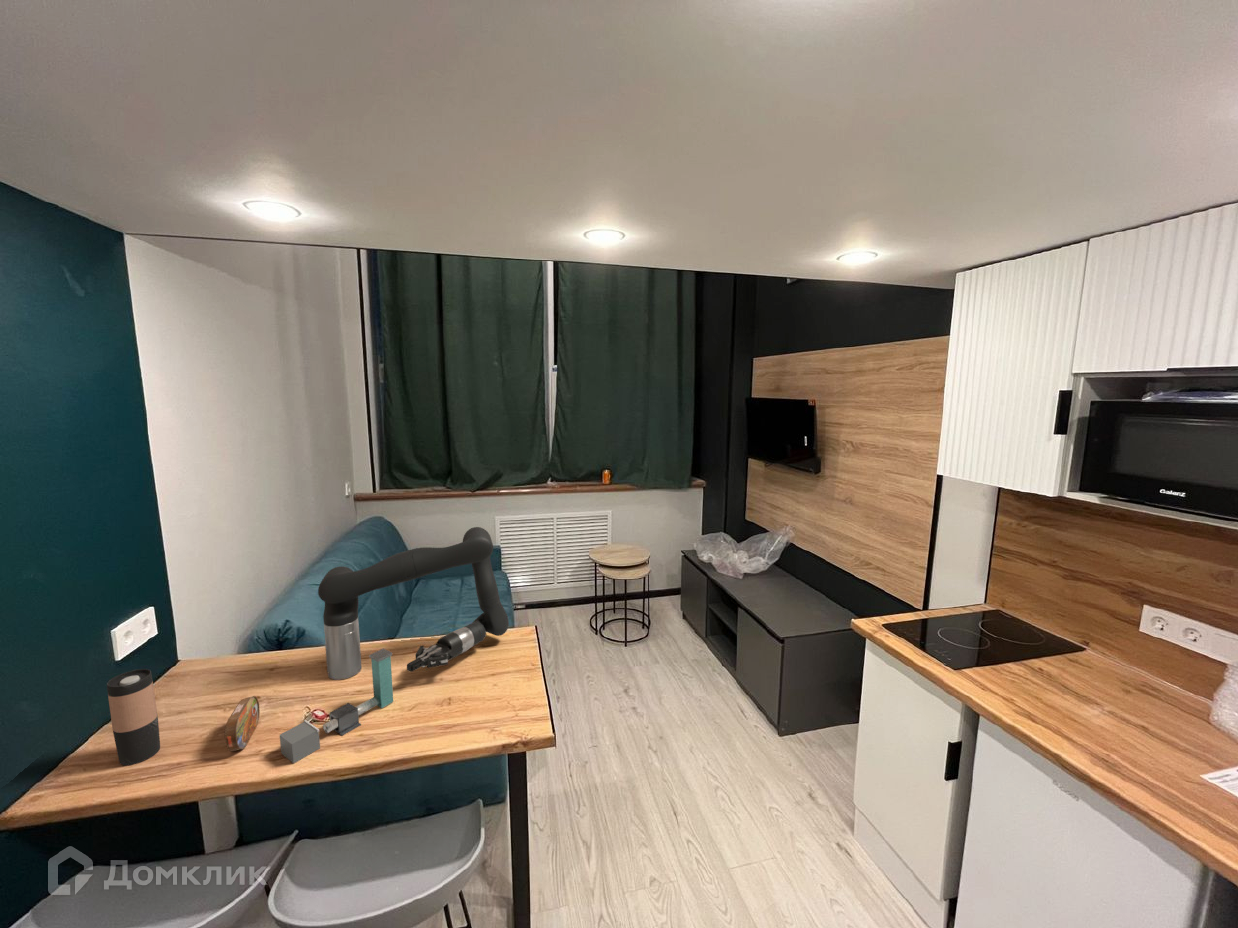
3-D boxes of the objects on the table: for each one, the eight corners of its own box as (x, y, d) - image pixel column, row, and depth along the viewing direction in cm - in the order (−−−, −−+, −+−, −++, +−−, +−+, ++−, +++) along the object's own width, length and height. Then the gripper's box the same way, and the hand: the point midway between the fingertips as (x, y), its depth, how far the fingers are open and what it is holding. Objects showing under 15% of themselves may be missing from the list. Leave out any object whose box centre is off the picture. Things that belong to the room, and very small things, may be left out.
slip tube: (321, 732, 125) (317, 678, 123) (386, 696, 140) (383, 648, 138) (330, 738, 123) (326, 684, 121) (395, 701, 138) (392, 652, 136)
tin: (240, 756, 117) (236, 724, 116) (224, 759, 116) (220, 727, 115) (262, 717, 131) (259, 688, 130) (248, 720, 130) (244, 691, 129)
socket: (280, 753, 119) (278, 733, 118) (307, 738, 124) (305, 719, 123) (294, 763, 115) (292, 743, 114) (320, 748, 120) (319, 729, 119)
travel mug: (137, 744, 121) (126, 669, 118) (170, 742, 122) (160, 667, 119) (108, 767, 114) (95, 687, 111) (143, 765, 114) (132, 686, 111)
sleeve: (328, 726, 128) (327, 711, 127) (347, 716, 132) (346, 701, 132) (342, 735, 125) (340, 720, 124) (361, 724, 129) (360, 709, 128)
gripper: (442, 626, 161) (393, 650, 146) (469, 637, 154) (422, 663, 140) (443, 648, 162) (395, 673, 147) (470, 659, 155) (423, 687, 141)
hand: (408, 668), depth 144 cm, fingers closed
